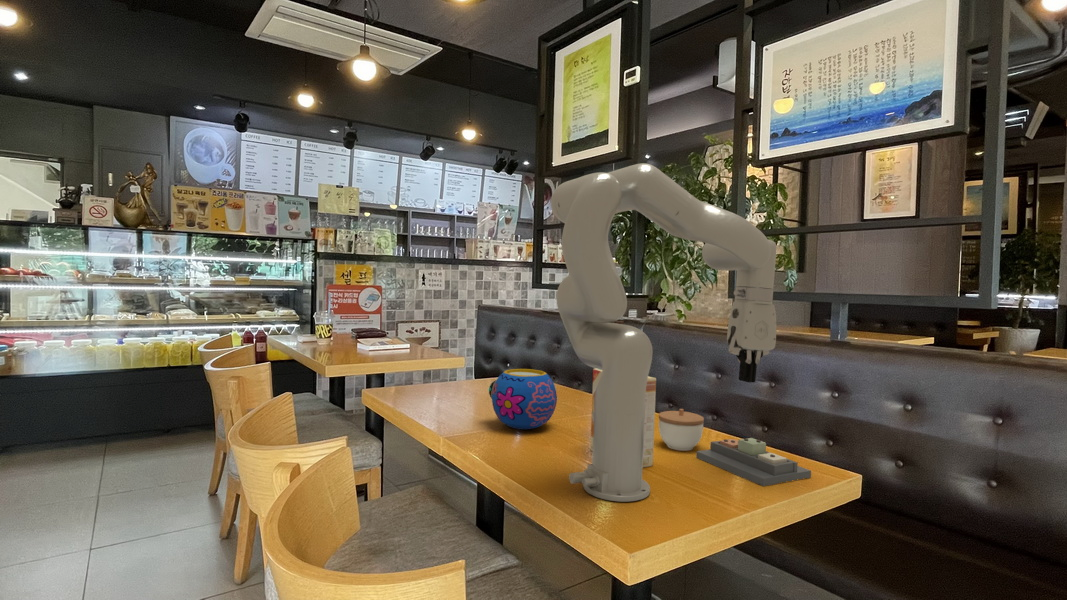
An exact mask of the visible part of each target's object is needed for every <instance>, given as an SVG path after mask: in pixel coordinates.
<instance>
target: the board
mask: <svg viewBox="0 0 1067 600" xmlns="http://www.w3.org/2000/svg"><path fill="white" fill-rule="evenodd" d="M720 441H721V440H717V441H716V440H715V441H710V449H703V450H698V451H697V450H696V458H697V459H699V460H701V461H703V462H705V463H708V464H710V465H713V466H714V467H717V468H719V469H721V470H724V471H726V470H727V471H726V472H729V473H731V474H734V475H735V476H738V477H741V478H743V479H745V480H746V481H747V480H748V481H750V482H752V483H755V484H756V483H757V484H758V485H759V486H761V485H762V486H761V487H767V485H768V486H773V485H777V483H779V484H782V483H781V482H784V483H787V482H786V481H790V482H793V481H792V480H795V481H798V480H797V479H801V480H804V479H803V478H806V479H810V477H812V470H810V469H808V468H805V467H802V466H799V464H798V463H799V462H798V461H794V460H791V459H789V458H787V462H783V463H777V464H772V463H770V462H767V461H764V460H762V459H759V458H758V455H753V456H752V455H749V454H747V453H744V452H741V451H739V450H738V448H734V449H733V448H730V447H727V446H725V445H722V444H720ZM766 453H771V452H769V451H767V450H766Z"/></svg>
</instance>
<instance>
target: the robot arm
mask: <svg viewBox="0 0 1067 600" xmlns="http://www.w3.org/2000/svg"><path fill="white" fill-rule="evenodd" d="M550 207H551V210H552V213H553V215H554V216H555V217H556V219H557V220H559V221H560V222H561V223H563V224H564V225H563V228H562V233H561V251H562V256H563V260H564V263H565V266H566V269H567V272H568V275H567V276H565V277H564V278H563V279H562V280H561V281H560V284H559V286H558V287H557V291H556V305H557V310H558V312H559V316H560V318H561V321H562V322H563V323H562V324H563V326H564V328H565V332H566V334H567V336H568V339H569V341H570V343H571V346H572V348H573V351H574V353H575V355H576V356H577V357H578V359H579V361H581V362H582V363H583V364H584V365H586V366H588V367H590V368H593V369H595V368H596V369H600V370H602V374H601V377H600V379H599V382H598V384H597V388H596V392H595V402H594V408H595V409H594V434H593V451H592V460H591V461H592V462H591V463H588V464H587V465H586V469H584V470H583V471H582V472H581V471H579V472H571V473H569V476H568V480H569V482H570V484H572V485H574V484H580V483H582V486H583V489H584V490H585V491H586V492H587V493H588V494H589V495H590V496H593V497H596V498H598V499H601V500H606V501H610V502H621V503H622V502H623V503H625V502H627V503H629V502H635V501H636V502H637V501H640V500H644V499H646V498H647V497H648V496H649V495H650V494H651V486H650V484H649V483H648V482H647V481H646V480H645V479H643V468H644V467H643V445H644V421H645V396H646V385H647V379H648V376H649V374H650V370H651V367H652V366H651V365H652V361H653V352H654V351H653V345H652V342H651V340H650V337H648V335H647V334H646V333H645V332H644V331H643V330H641V329H640V328H639V327H638V328H637V327H635V326H634V325H633V326H632V325H628V324H625V323H624V324H625V325H624V324H617V323H614V321H619V320H620V319H621V318H622V317H623V316H624V315H625V313H626V312H627V308H628V298H627V295H626V290H625V288H624V286H623V283H622V279H621V277H620V274H619V272H618V268H617V267H616V263H615V260H614V258H613V255H612V252H611V248H610V245H609V232H610V226H611V224H612V221H613V219H614V217H615V215H616V214H618V213H623V212H628V211H637V212H638V213H640V214H641V215H643V216H644V217H646V218H647V219H648V220H650V221H651V222H653V223H654V224H655V225H657V226H658V227H660V228H661V230H664V231H665V232H666V233H667V234H669V235H671V236H673V237H676V238H679V239H683V240H688V241H693V242H701V243H705V244H704V245H703V246H702V249H701V250H702V251H701V254H702V255H701V256H702V259H703V262H704V263H705V264H706V265H707V266H708V267H709V268H711V269H713V270H716V271H736V283H735V290H733V295H734V301H733V302H732V306H731V308H730V309H731V310H730V312H729V313H730V314H729V319H728V325H727V332H726V333H727V335H726V342H727V345H728V346H729V347H728V353H730V354H733V355H735V356H736V358H737V363H738V362H739V371H738V380H739V381H740V382H741V381H742V382H744V383H745V382H746V383H756V378H757V366H758V364H760V361H761V358H763V357H764V356H768V355H770V351H772V350H774V349H775V348H776V343H777V315H776V314H777V312H776V307H775V304H773V297H774V285H775V284H774V283H775V275H776V274H775V273H776V261H777V248H778V247H777V244H776V242H775V241H774V240H771V239H768V238H767V237H766V235H765V234H764V233H763V232H762V231H761V230H760V229H758V228H757V227H756V226H755V225H754V224H752V222H750V221H749V220H747V219H746V218H744V217H743V216H740V215H739V214H736V213H734V212H732V211H729V210H726V209H724V208H721V207H718V206H716V205H714V204H710V203H708V202H704V201H702V200H699V199H698V198H696V197H695V196H694V195H692V194H691V193H689V191H687V190H686V189H685V188H683V187H682V186H681V185H679V183H677V182H675V181H674V180H673V179H672V178H671V177H669V176H668V175H667V174H666V173H664V172H663V171H661V170H660V169H659V168H658V167H656V166H654V165H653V164H650V163H636V164H633V165H628V166H625V167H622V168H619V169H615V170H613V171H609V172H593V173H589V174H585V175H582V176H580V177H577V178H574V179H570V180H567V181H564V182H562V183H561V184H559V185H558V186H557V187H555V190H553V192H552V195H551V198H550Z"/></svg>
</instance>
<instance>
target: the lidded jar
mask: <svg viewBox="0 0 1067 600" xmlns="http://www.w3.org/2000/svg"><path fill="white" fill-rule="evenodd" d="M684 410H685V409H684V408H679V409H678V410H666V411H665V410H664V411H661V412H659V413H658V431H659V435H660V438H661V439H662V441H663V442H664V444H666V447H667V448H669V449H671V450H675V451H681V452H682V451H683V452H685V451H686V452H688V451H689V452H690V451H693V449H694V448H695V447H696V446H697V445H698V443H700V441H701V438H702V435H703V433H704V432H703V431H704V422H705V417H704V416H703V415H700V414H698V413H693V412H689V411H684Z"/></svg>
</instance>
